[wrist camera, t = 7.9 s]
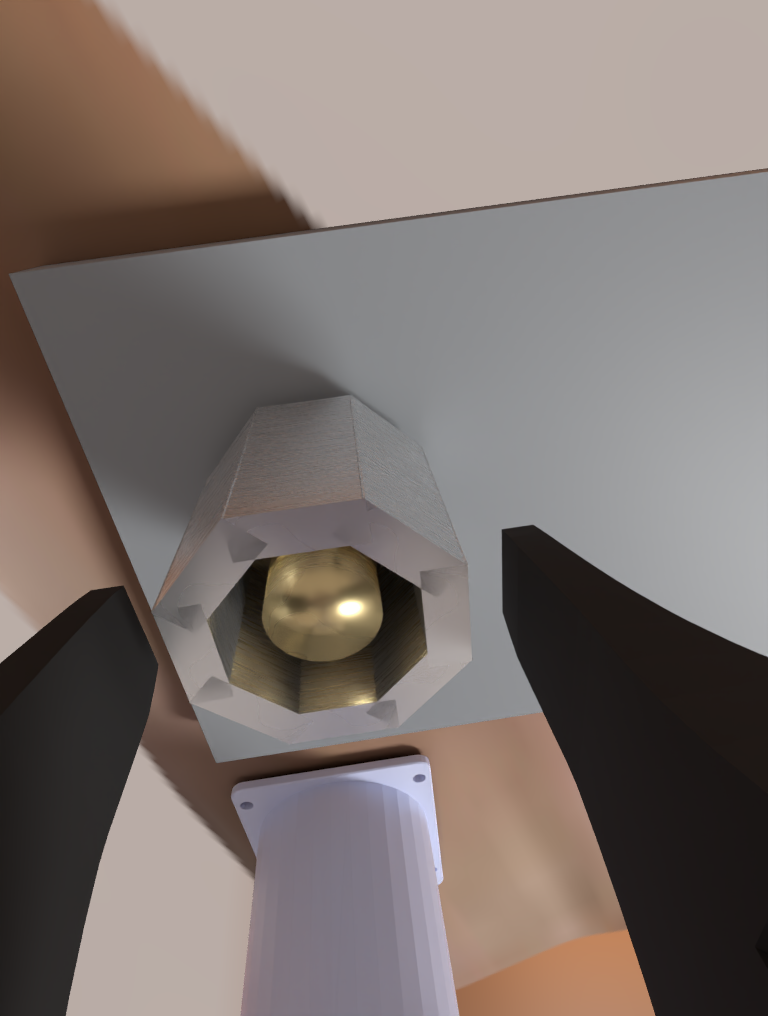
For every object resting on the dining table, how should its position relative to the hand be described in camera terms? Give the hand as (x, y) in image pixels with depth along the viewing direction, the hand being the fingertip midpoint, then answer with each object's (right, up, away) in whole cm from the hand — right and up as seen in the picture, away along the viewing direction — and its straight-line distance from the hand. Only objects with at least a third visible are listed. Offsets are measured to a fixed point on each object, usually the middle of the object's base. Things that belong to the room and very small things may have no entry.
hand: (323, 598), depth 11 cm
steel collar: (0, +2, +3) cm, 4 cm away
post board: (+6, +2, +6) cm, 9 cm away
